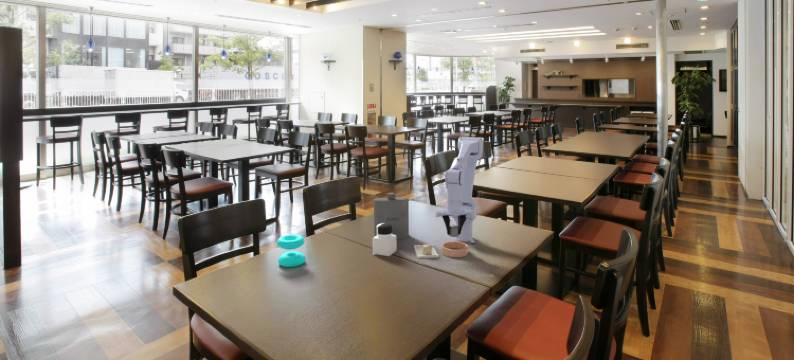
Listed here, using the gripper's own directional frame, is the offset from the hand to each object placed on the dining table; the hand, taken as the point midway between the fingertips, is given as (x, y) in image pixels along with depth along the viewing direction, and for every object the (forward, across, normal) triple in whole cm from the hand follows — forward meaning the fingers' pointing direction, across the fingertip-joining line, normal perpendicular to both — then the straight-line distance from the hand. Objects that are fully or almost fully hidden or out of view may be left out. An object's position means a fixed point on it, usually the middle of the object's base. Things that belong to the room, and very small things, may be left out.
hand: (453, 233), depth 180 cm
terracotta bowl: (+8, 0, -2) cm, 8 cm away
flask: (+8, -23, +19) cm, 31 cm away
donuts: (+8, -62, -5) cm, 63 cm away
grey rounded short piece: (+1, 0, 0) cm, 1 cm away
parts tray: (+8, -11, -1) cm, 13 cm away
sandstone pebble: (+7, -11, -4) cm, 13 cm away
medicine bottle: (+8, -27, +1) cm, 28 cm away
